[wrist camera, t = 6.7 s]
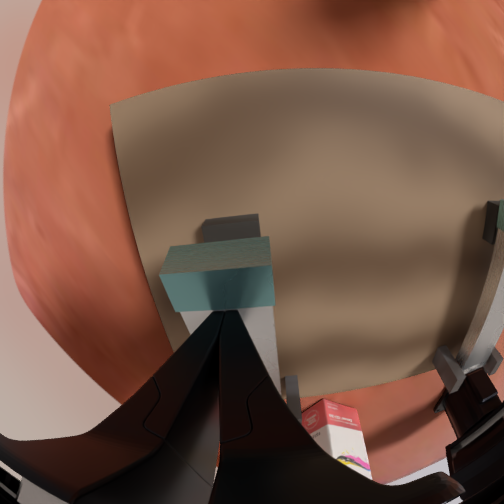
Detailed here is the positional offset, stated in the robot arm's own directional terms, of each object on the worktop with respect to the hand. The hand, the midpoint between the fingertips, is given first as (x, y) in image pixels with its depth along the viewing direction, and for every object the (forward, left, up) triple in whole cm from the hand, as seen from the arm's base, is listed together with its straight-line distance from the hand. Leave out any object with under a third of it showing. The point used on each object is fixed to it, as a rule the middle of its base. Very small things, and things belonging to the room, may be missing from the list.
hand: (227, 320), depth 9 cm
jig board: (-2, -8, -7) cm, 11 cm away
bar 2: (-4, -16, -3) cm, 17 cm away
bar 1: (-4, 0, -2) cm, 4 cm away
